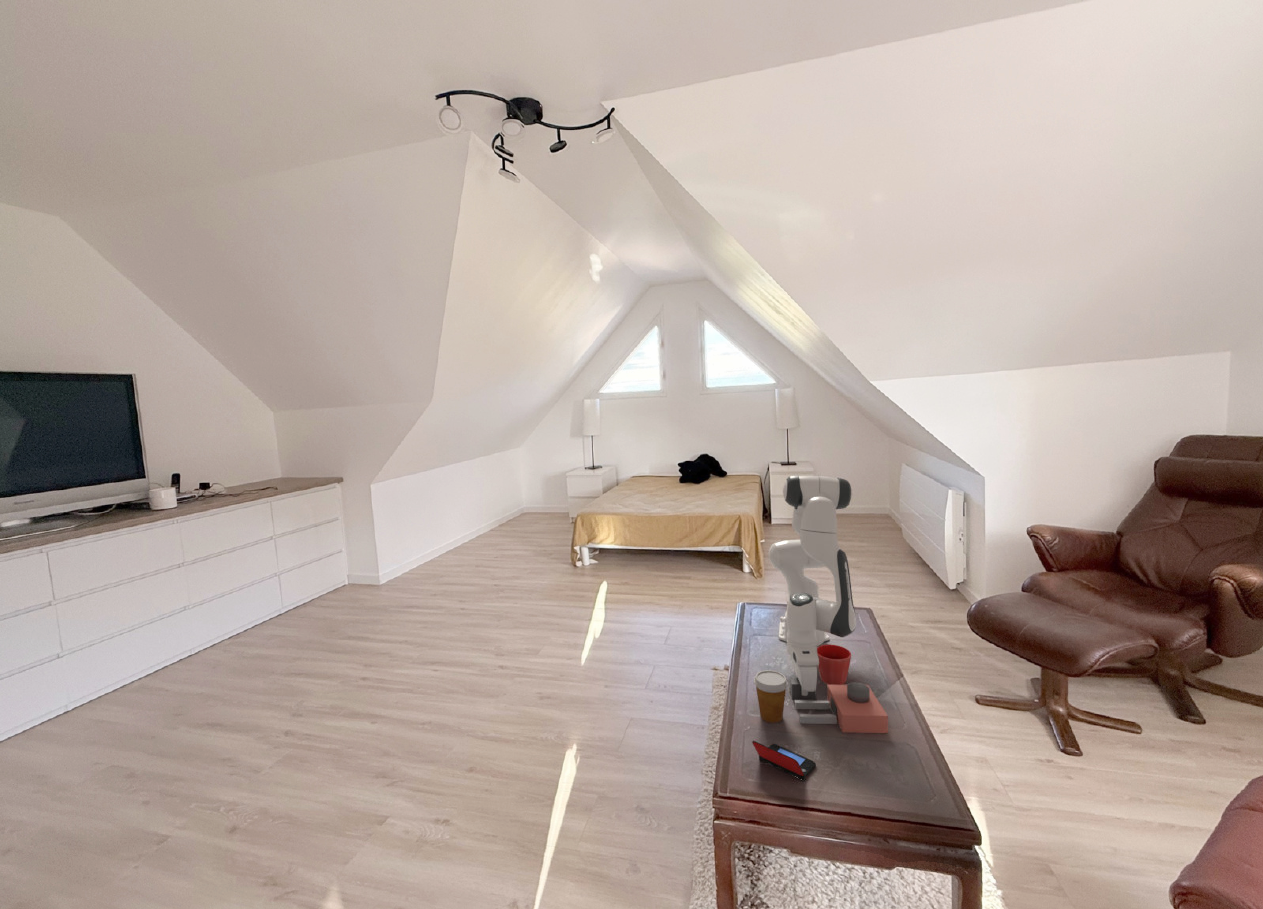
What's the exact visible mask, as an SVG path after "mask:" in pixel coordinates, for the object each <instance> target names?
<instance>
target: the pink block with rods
mask: <svg viewBox="0 0 1263 909" xmlns="http://www.w3.org/2000/svg"><path fill="white" fill-rule="evenodd" d="M826 687H827V689H826V690H827V693H826V694H827V695H826V699H827V700H794V708H795V710H831V713H832V714H812V713H811V714H807V713H806V714H803V713H801V714H799V722H800V724H807V725H808V724H814V725H815V724H817V725H818V724H820V725H837V724H838V725H839V728H840V729H841V732H842V733H854V734H855V733H861V734H863V733H864V734H888V733H889V724H888V723H889V718H888V717H889V716H888V714H887V712H886V711H885V709H884V708H883V706H882V705H881V702H879V700H878V698H877V697H876V695H875V694H874V692H873V691H872V689H871V687H870V686H869V685H868V684H864V683H862V682H859V681H858V682H857V681H856V682H855V681H853V682H849V683H847V684H843V685H829V684H826Z"/></svg>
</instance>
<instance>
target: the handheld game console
mask: <svg viewBox="0 0 1263 909" xmlns="http://www.w3.org/2000/svg"><path fill="white" fill-rule="evenodd" d="M751 743H752V745H753V747H754V749H755V751H756V752H757V755H758V761H759V760H760V762H762V761H763V763H765V764H768V765H769V766H771V765H772V767H774V768H777V769H779V770H782V771H783V770H784V771H783V772H785V773H786V774H788V773H789V774H788V775H790V774H791V775H790V776H792V775H793V776H792V777H794V776H796V777H798V778H799V779H798V778H797V779H798V780H800V779H802V780H804V781H806V779H807V778H809V777H808V776H809V775H810V774H811V773H812V772H813V771H814V770H815V768H816V767H817V766H816V765H817V764H816V763H817V762H816V761H814V760H811V759H809V758H808V757H805V756H804V755H802V754H799V753H796V752H794V751H792V750H790V749H787V747H786V748H785V747H783V746H781V745H779V744H776V743H772V744H770V745H769V746H766V745H764V744H762V743H760V742H757V741H755V740H752V741H751ZM796 777H795V778H796ZM802 780H801V781H802Z"/></svg>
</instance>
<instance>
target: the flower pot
mask: <svg viewBox="0 0 1263 909" xmlns="http://www.w3.org/2000/svg"><path fill="white" fill-rule="evenodd" d="M817 654H818V658H819V665H817V669H818V672H819V676H820V680H821V681H822V682H823V683H824V684H826V685H846V682H847V678H848V675H849V670H850V665H851V660H852V652H851V651H850V650H849V649H848V648H846V647H843V646H841V645H837V644H821V645H818V646H817Z"/></svg>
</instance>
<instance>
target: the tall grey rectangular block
mask: <svg viewBox="0 0 1263 909" xmlns="http://www.w3.org/2000/svg"><path fill="white" fill-rule="evenodd" d="M789 694H790V697H791V700H792V701H795V700H807V701H817V700H816V699H817V698H816V696H817V694H816V690H815V691H814V692H808V695H807V696H803V695H802V694H801V684H800V682H799V680H798V678H797V677H789Z"/></svg>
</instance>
